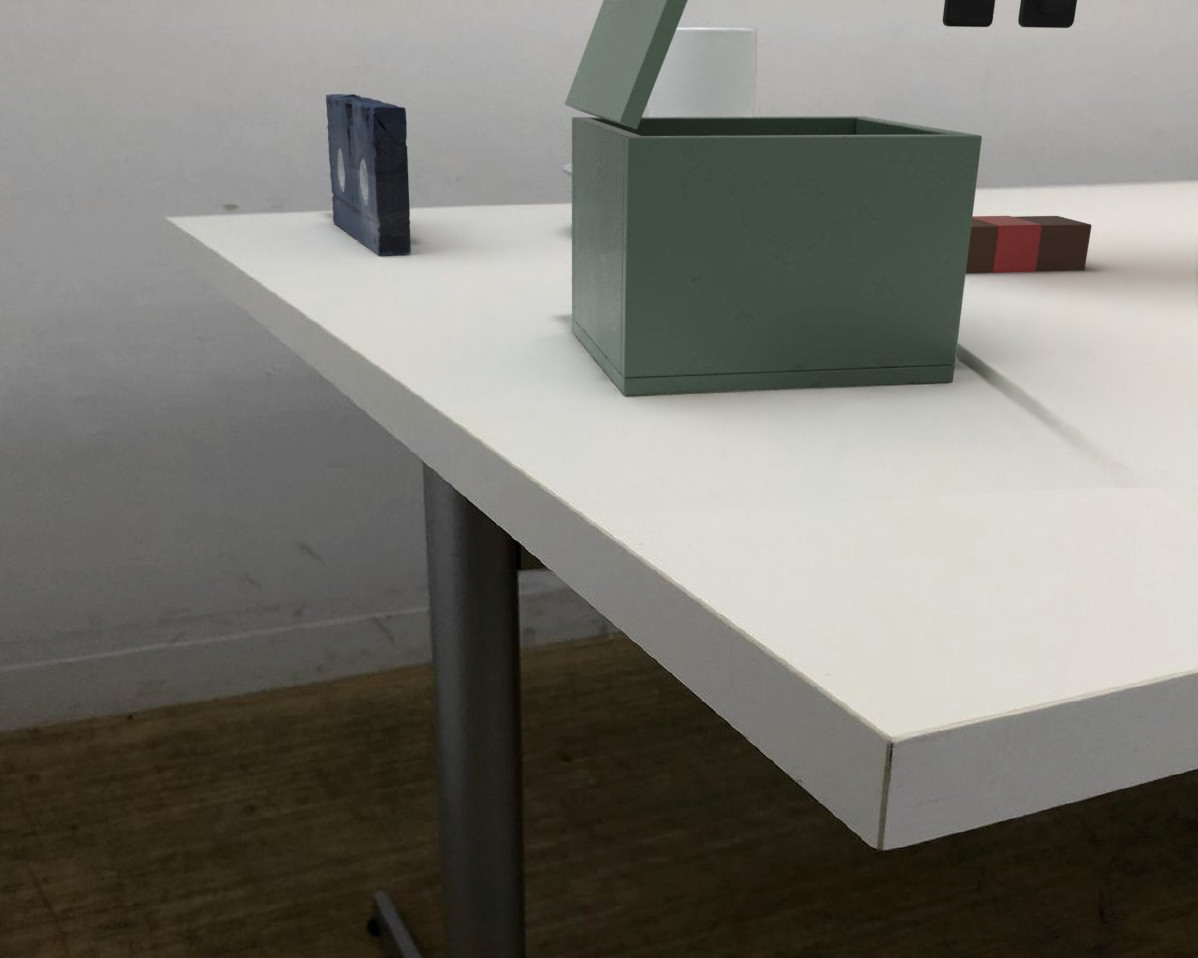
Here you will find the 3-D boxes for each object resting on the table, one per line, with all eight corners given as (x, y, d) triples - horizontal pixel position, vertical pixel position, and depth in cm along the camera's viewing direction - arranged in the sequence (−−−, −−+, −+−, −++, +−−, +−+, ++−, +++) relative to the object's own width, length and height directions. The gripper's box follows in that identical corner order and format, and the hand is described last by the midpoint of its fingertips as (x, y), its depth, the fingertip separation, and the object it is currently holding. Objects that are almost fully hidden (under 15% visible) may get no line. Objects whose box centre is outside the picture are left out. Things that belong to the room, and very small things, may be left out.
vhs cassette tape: (413, 254, 93) (406, 106, 89) (372, 256, 92) (363, 106, 88) (368, 221, 109) (360, 93, 105) (332, 222, 108) (323, 94, 104)
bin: (847, 322, 72) (864, 116, 68) (953, 382, 60) (982, 135, 56) (571, 331, 70) (571, 117, 65) (624, 396, 58) (628, 137, 53)
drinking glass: (667, 264, 90) (674, 27, 84) (760, 272, 87) (774, 28, 82) (626, 278, 85) (630, 27, 79) (723, 288, 82) (735, 27, 76)
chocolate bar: (1049, 270, 89) (1057, 214, 88) (1083, 282, 85) (1092, 223, 84) (912, 274, 87) (918, 217, 86) (940, 286, 83) (947, 226, 82)
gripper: (1205, -348, 65) (1142, 29, 71) (1031, -277, 80) (993, 27, 87) (1068, -359, 63) (1016, 26, 70) (918, -284, 79) (888, 25, 86)
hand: (1003, 26), depth 78 cm, fingers open, 9 cm apart
